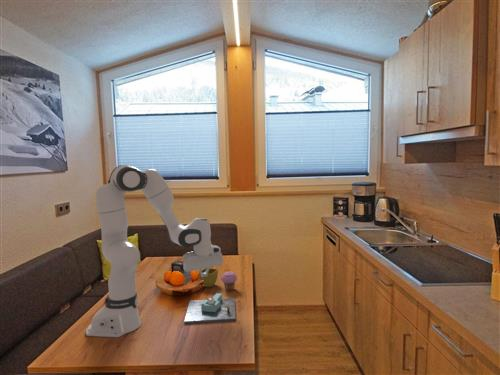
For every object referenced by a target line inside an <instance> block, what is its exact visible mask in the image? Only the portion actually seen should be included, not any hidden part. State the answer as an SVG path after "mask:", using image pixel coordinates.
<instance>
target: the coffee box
mask: <svg viewBox="0 0 500 375" xmlns="http://www.w3.org/2000/svg"><path fill="white" fill-rule="evenodd" d="M183 263H184V261H182V260H176V261H173V262H171V266H170V267H171V268H170V269H171V270H170V271H171V273H172V272H173V271H179V272H181V273H182V274H183V276H184V277H186V278H185V279H186V280H184V284H183V285H185V284H187V283H188V282H190V281H191V282H192V276H191V275H192V271H189V272H186V271H185V270H184V269H183Z"/></svg>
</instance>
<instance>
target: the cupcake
mask: <svg viewBox="0 0 500 375" xmlns="http://www.w3.org/2000/svg"><path fill="white" fill-rule="evenodd" d="M220 280H221V281H222V282H223V285H224V286H223V287H224V289H225V291H227V292H228V291H234V290H235V283H236V282H237V280H238V276H237V274H236V273H235V272H233V271H225V272H224V273H223V274H222V275H221V279H220Z"/></svg>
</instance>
